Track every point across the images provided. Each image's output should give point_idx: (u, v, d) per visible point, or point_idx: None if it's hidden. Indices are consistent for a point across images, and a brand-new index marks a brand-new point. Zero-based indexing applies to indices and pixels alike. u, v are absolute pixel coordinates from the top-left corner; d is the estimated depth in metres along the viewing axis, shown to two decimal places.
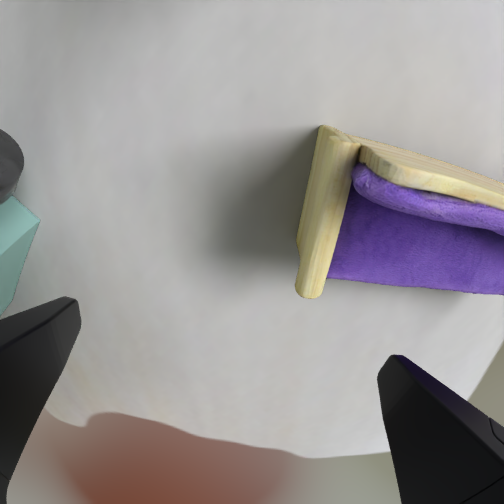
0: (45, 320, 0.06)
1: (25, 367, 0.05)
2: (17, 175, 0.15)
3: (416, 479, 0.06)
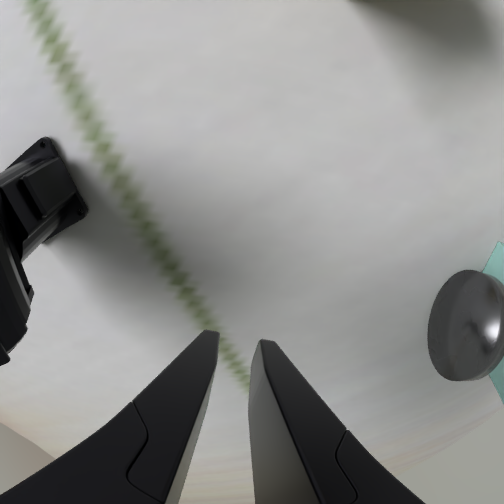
0: (213, 363, 0.06)
1: (201, 418, 0.06)
2: (479, 274, 0.16)
3: (263, 488, 0.05)
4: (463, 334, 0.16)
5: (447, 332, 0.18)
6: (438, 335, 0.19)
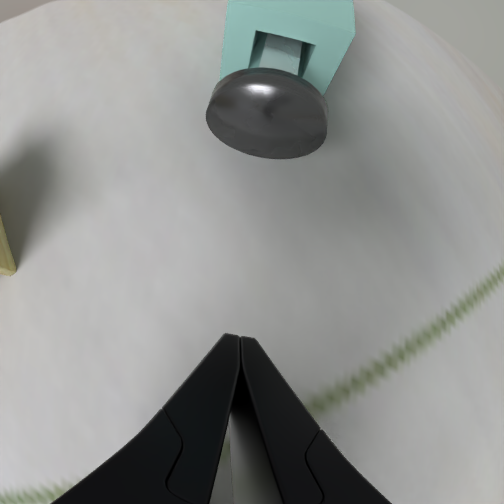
0: (237, 367, 0.06)
1: None
2: (209, 124, 0.18)
3: (239, 487, 0.05)
4: (269, 121, 0.17)
5: (283, 137, 0.18)
6: (292, 145, 0.19)
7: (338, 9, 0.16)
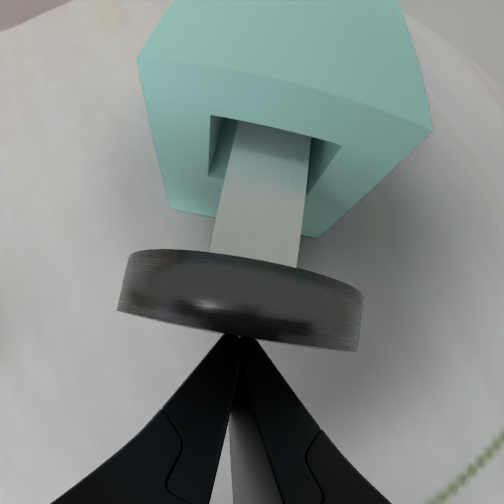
0: (237, 367, 0.06)
1: None
2: None
3: (239, 486, 0.05)
4: None
5: None
6: (289, 344, 0.11)
7: (391, 59, 0.08)
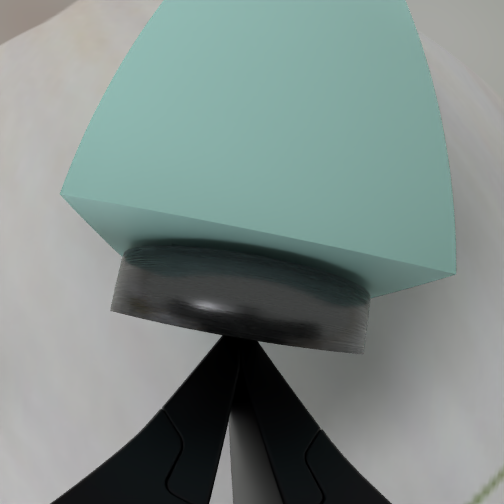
0: (237, 367, 0.06)
1: None
2: None
3: (238, 487, 0.05)
4: None
5: None
6: None
7: (414, 156, 0.06)
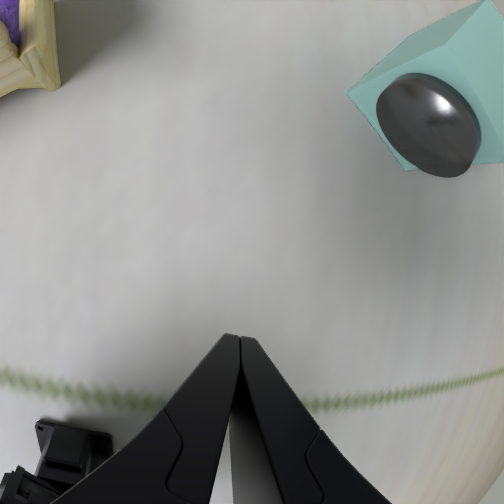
0: (237, 367, 0.06)
1: None
2: (382, 93, 0.17)
3: (239, 486, 0.05)
4: (432, 133, 0.16)
5: (426, 149, 0.18)
6: (426, 159, 0.18)
7: None
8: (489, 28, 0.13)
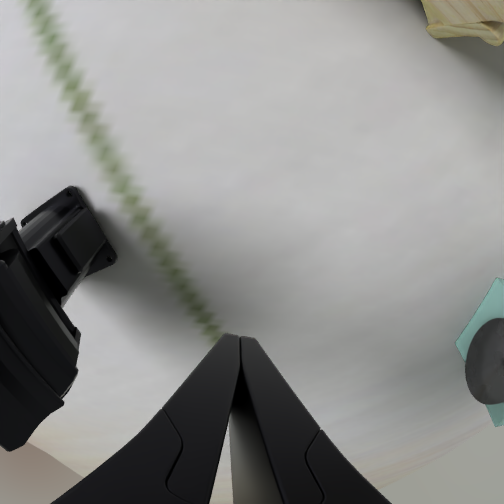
0: (237, 367, 0.06)
1: None
2: None
3: (239, 487, 0.05)
4: (496, 369, 0.18)
5: (482, 366, 0.20)
6: (475, 367, 0.21)
7: None
8: None
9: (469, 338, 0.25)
